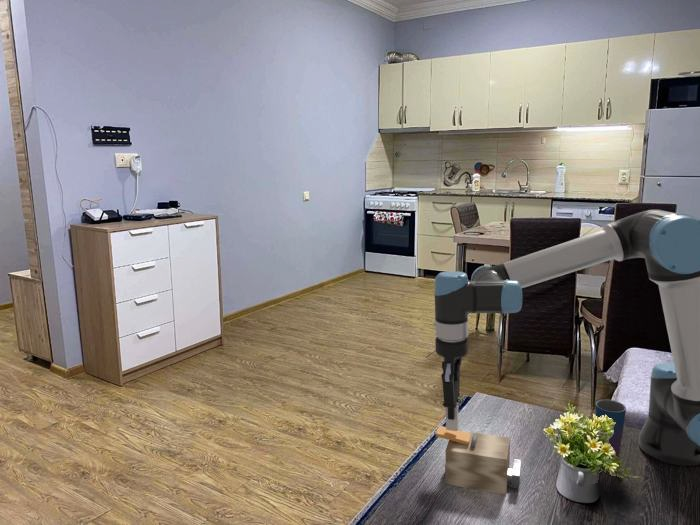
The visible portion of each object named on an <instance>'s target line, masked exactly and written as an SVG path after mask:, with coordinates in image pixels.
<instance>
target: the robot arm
mask: <svg viewBox="0 0 700 525" xmlns="http://www.w3.org/2000/svg"><path fill="white" fill-rule="evenodd" d="M637 258H638V259H639V258H641V259H644V260H645V265H646V269H647V270H646V271H647V275H648V279H649V281H651V282H653V283H655V284H656V285H658V290H659V295H660V300H661V305H662V312H663V315H664V321H665V326H666V331H667V335H668V340H669V345H670V350H671V356H672V361H673V362H661V363H658V364H656V365H654V366H653V367H652V370H651V375H650V386H649V400H648V402H649V404H648V415H647V416H648V417H647V418H646V420H645V422H644V425H643V426H642V428H641V430H640V432H639V435H638V447H639V448H640V449H641V450H642V451H643V453H645V454H646V455H648V456H649V457H652V458H653V459H656V460H658V461H659V462H660V461H661V462H663V463H667V464H669V465H670V464H671V465H675V466H676V465H677V466H683V467H685V466H686V467H693V466H698V465H700V219H698V218H696V217H694V216H692V215H689V214H686V213H676V212H672V211H667V210H663V209H648V210H643V211H641V212H637V213H634V214H632V215H629V216H626V217H623V218H620V219H618V220H615V221H612V222H608V223H606V224H604V225H603V227H602V229H601V230H598V231H595V232H592V233H589V234H587V235H584V236H583V235H582V236H580V237H577V238H574V239H571V240H568V241H565V242H562V243H560V244H557V245H553V246H551V247H547V248H545V249H541V250H538V251H535V252H533V253H529V254H526V255H523V256H519V257H517V258H514V259H512V260H509V261H505V262H503V263H500V264H495V265H492V266H489V265H481V266H479V267H478V268H476V269H475V270H474V271H473V272H472V274H471V277H470V280H469V279H468V278H469V277H468V275H467V273H466V272H463V271H457V270H456V271H454V270H449V271H448V270H447V271H442V272H439V273H438V274H437V275H436V276H435V278H434V318H435V319H434V320H435V321H434V322H433V323H432V326H433V327H435V328H434V330H435V336H436V337H435V342H434V343H435V352H436V355H439V357H443V358H444V359H443V361H442V362H441V370H442V373H441V375H440V376H441V380H442V381H441V382H442V393H443V394H442V395H443V403H442V406H443V407H444V408H445V427H446V430H451V431H458V430H459V404H461V403H462V399H461V398H459V397H460V396H461V394H460V391H461V390H460V387H461V386H460V385H461V384H460V383H461V381H460V380H461V366H462V357H464V356H466V355H467V354H468V351H469V350H468V349H469V343H468V342H469V340H468V338H467V337H468V336H469V320H468V316H469V314H503V315H506V314H515V313H518V312H520V311H521V310H522V308H523V307H522V306H523V290H522V289H523V288H527V287H530V286H533V285H536V284H539V283H543V282H546V281H549V280H552V279H555V278H558V277H562V276H564V275H568V274H571V273H575V272H577V271H581V270H583V269H587V268H590V267H593V266H596V265H599V264H602V263H605V262H608V261H611V260H612V261H613V260H614V261H617V262H623V261H625V260H630V259H637ZM458 403H459V404H458Z"/></svg>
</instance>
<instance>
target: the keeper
mask: <svg viewBox="0 0 700 525" xmlns="http://www.w3.org/2000/svg"><path fill="white" fill-rule="evenodd" d="M436 430H437V431H436V432H435V437H436V438H441V439H444V440H448V441H449V440H452V441H455V442H459V443H463V444H467V445H469V442H470V438H471V434H470V433H466V432H462V431H463V430H460V431H459V429H458V431H451V430H446V426H443V425H438V428H437V429H436ZM477 437H478V435H477V434H473V438H472V441H471V447H475V445H476V441H477Z"/></svg>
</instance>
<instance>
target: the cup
mask: <svg viewBox="0 0 700 525" xmlns="http://www.w3.org/2000/svg"><path fill="white" fill-rule="evenodd" d="M626 412H627V408H626V405H625V404H623V403H622V402H620V401H617V400H614V399H613V400H612V399H599V400H597V401H596V402H595V417H596V416H598V417H600V416H601V415H605V414H606V415H607V416H608V417H609V418H612V419H613V420H614V421H615V422H616V424H615V426H614V434H613V436H612V437H611V438H610V439H609V443H610V444H611V446H612V447H613V448H614V450H615V452H616V456H617V457H618V458H619V459H620V452H621V448H622V446H621V445H622V441H623V440H622V439H623V433H624V432H623V431H624V425H625V419H626V418H625V417H626Z"/></svg>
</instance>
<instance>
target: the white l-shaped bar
mask: <svg viewBox="0 0 700 525" xmlns="http://www.w3.org/2000/svg"><path fill="white" fill-rule="evenodd" d="M521 470H522V459H517V458H514V459H513V466H512V468H510V467H509V468H508V472H507V487H512V489H513V488H514V489H520V485H521V484H520V483H521V473H522V472H521ZM444 476H446V462H445V464H444Z"/></svg>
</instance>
